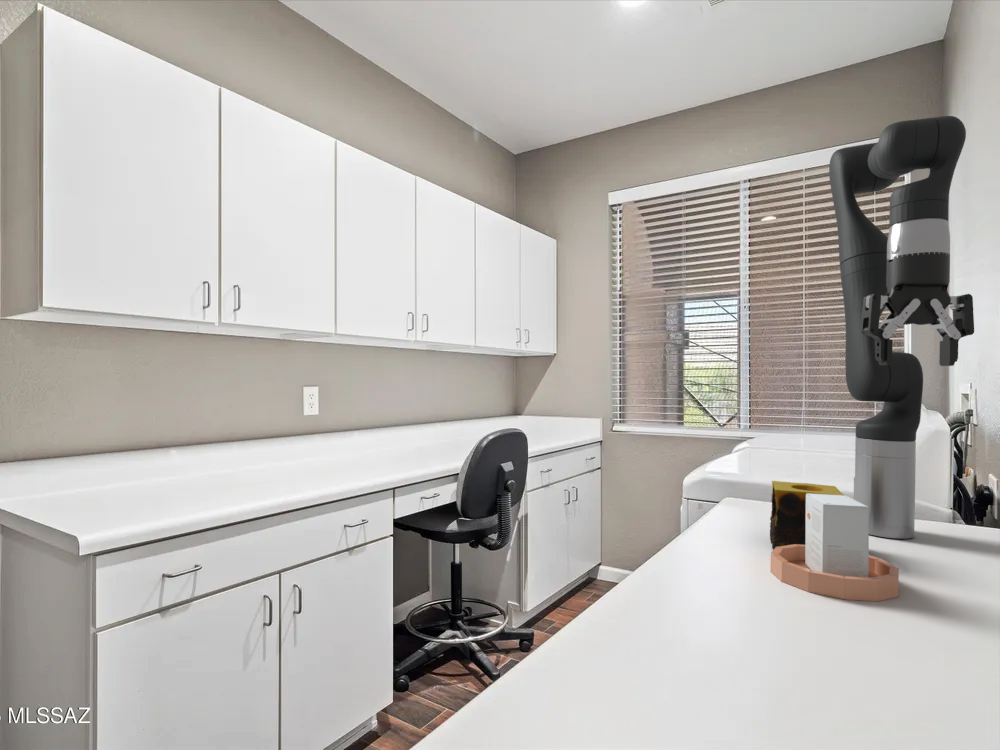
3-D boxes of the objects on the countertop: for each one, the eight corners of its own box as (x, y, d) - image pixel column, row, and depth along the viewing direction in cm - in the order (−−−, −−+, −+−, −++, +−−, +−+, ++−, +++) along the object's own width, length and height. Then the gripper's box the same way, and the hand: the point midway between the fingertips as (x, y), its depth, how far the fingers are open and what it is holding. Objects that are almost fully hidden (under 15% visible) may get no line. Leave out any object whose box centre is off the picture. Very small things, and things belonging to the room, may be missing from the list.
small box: (869, 587, 74) (870, 506, 74) (821, 583, 75) (823, 503, 75) (846, 567, 82) (847, 494, 82) (804, 564, 83) (805, 492, 83)
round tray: (756, 559, 87) (757, 542, 87) (860, 564, 85) (860, 547, 85) (798, 596, 72) (799, 576, 72) (925, 603, 70) (925, 582, 70)
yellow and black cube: (772, 551, 91) (773, 489, 91) (768, 535, 101) (769, 479, 101) (845, 560, 87) (846, 495, 88) (834, 543, 97) (835, 484, 97)
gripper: (951, 261, 86) (949, 367, 86) (853, 260, 88) (851, 365, 88) (989, 249, 79) (987, 365, 79) (881, 249, 80) (879, 363, 80)
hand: (915, 365), depth 83 cm, fingers open, 8 cm apart
